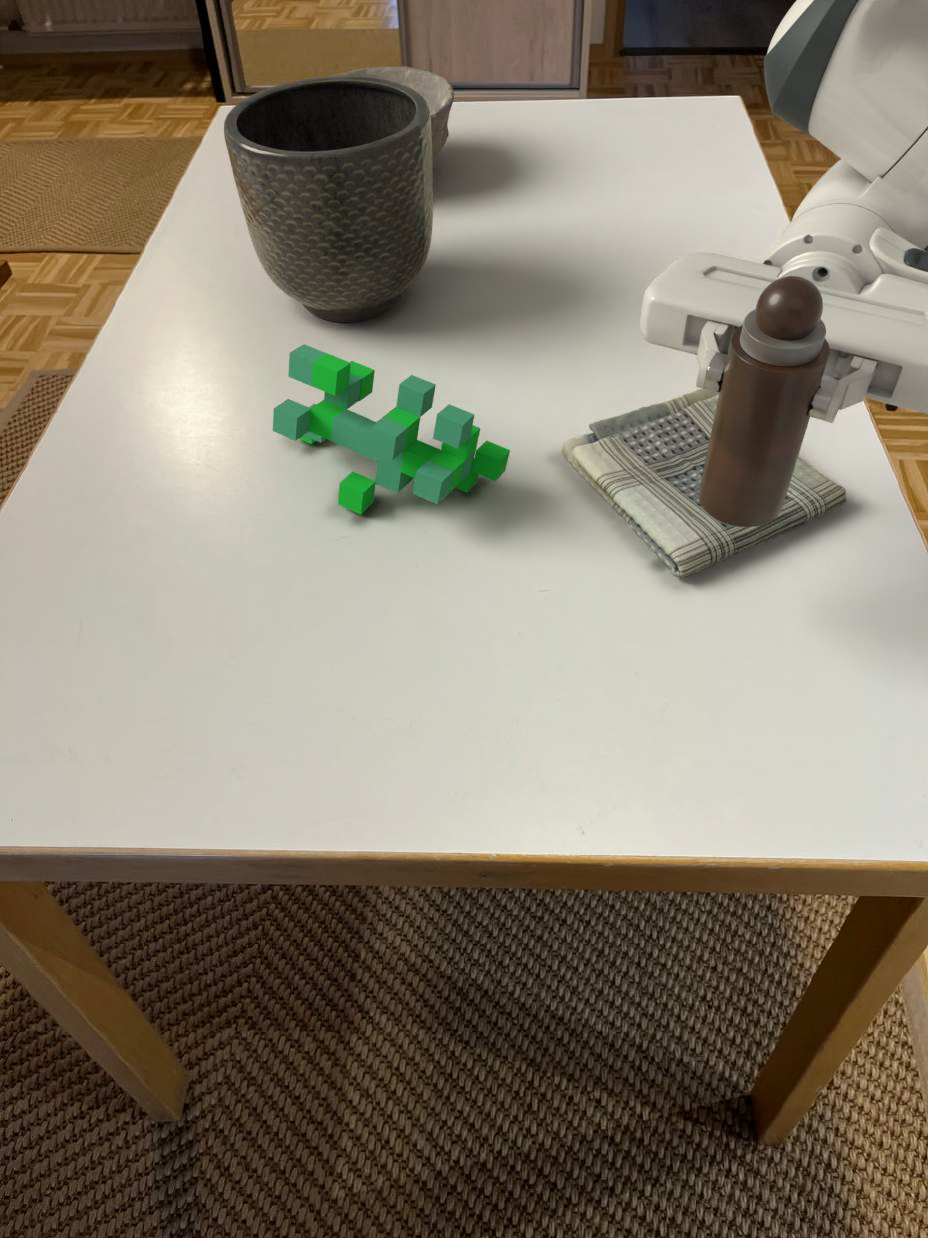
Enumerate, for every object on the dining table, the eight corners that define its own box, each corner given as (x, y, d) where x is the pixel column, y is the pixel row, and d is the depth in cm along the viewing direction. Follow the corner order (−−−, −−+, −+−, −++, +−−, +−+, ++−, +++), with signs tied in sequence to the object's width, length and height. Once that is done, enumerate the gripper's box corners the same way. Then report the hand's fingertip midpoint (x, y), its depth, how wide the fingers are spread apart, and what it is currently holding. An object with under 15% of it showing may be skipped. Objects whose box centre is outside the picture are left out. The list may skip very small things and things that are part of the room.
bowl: (374, 132, 131) (367, 53, 124) (489, 167, 123) (488, 84, 115) (268, 185, 121) (252, 103, 114) (384, 227, 112) (376, 141, 105)
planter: (316, 242, 110) (287, 65, 96) (468, 269, 105) (462, 86, 91) (228, 327, 99) (180, 140, 84) (394, 362, 93) (373, 168, 79)
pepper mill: (783, 477, 64) (848, 259, 52) (782, 532, 60) (851, 312, 48) (701, 467, 65) (746, 250, 53) (695, 521, 61) (742, 302, 49)
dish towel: (851, 508, 77) (862, 479, 74) (676, 588, 71) (682, 558, 69) (710, 395, 88) (716, 366, 85) (549, 456, 82) (550, 427, 80)
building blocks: (507, 468, 86) (532, 360, 75) (480, 572, 79) (503, 470, 68) (300, 417, 87) (295, 302, 76) (255, 517, 80) (243, 406, 69)
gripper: (685, 211, 64) (608, 307, 56) (1000, 275, 57) (962, 394, 50) (672, 294, 69) (600, 394, 61) (962, 362, 62) (922, 484, 54)
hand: (765, 395), depth 55 cm, fingers closed on pepper mill, 5 cm apart
